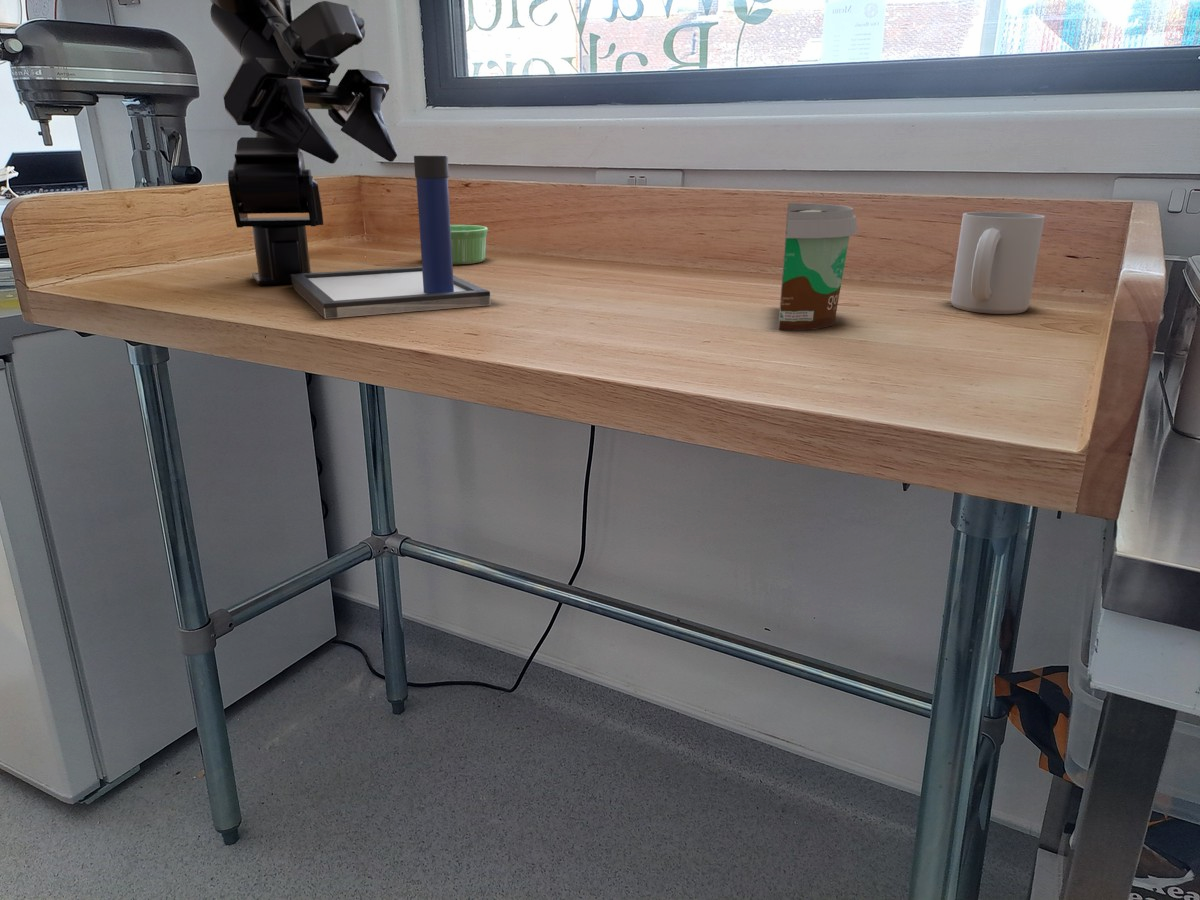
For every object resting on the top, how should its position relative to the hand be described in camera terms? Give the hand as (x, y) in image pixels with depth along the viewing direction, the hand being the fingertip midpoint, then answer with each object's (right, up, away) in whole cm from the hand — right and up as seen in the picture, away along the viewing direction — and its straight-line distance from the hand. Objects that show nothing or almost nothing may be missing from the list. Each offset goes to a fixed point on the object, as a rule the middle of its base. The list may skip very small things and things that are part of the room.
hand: (366, 159), depth 85 cm
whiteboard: (+1, -13, +5) cm, 14 cm away
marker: (+7, -13, +2) cm, 15 cm away
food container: (+43, -17, -6) cm, 46 cm away
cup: (+61, -15, -1) cm, 63 cm away
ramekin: (+4, -3, +31) cm, 31 cm away
